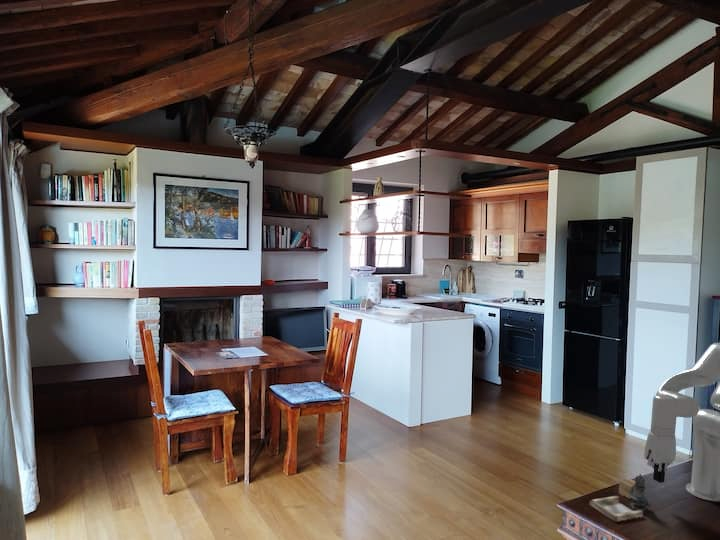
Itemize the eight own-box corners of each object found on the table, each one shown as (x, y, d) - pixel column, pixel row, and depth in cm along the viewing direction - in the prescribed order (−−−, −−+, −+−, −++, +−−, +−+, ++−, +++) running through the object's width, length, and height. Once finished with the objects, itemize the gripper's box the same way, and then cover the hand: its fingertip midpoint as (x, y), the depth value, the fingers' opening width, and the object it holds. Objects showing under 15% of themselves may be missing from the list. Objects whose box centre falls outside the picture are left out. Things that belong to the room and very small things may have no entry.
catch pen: (616, 500, 188) (616, 495, 188) (642, 516, 178) (643, 511, 177) (589, 504, 184) (589, 500, 184) (614, 521, 174) (615, 516, 173)
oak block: (629, 491, 196) (630, 478, 195) (640, 498, 191) (641, 484, 191) (618, 493, 194) (619, 480, 194) (629, 499, 189) (630, 486, 189)
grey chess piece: (649, 512, 181) (652, 478, 180) (631, 510, 182) (633, 476, 181) (644, 504, 187) (646, 471, 186) (626, 501, 188) (628, 469, 187)
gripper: (669, 425, 192) (665, 474, 193) (637, 428, 187) (633, 478, 188) (688, 432, 184) (683, 483, 186) (655, 435, 180) (651, 488, 181)
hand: (658, 480), depth 187 cm, fingers closed
